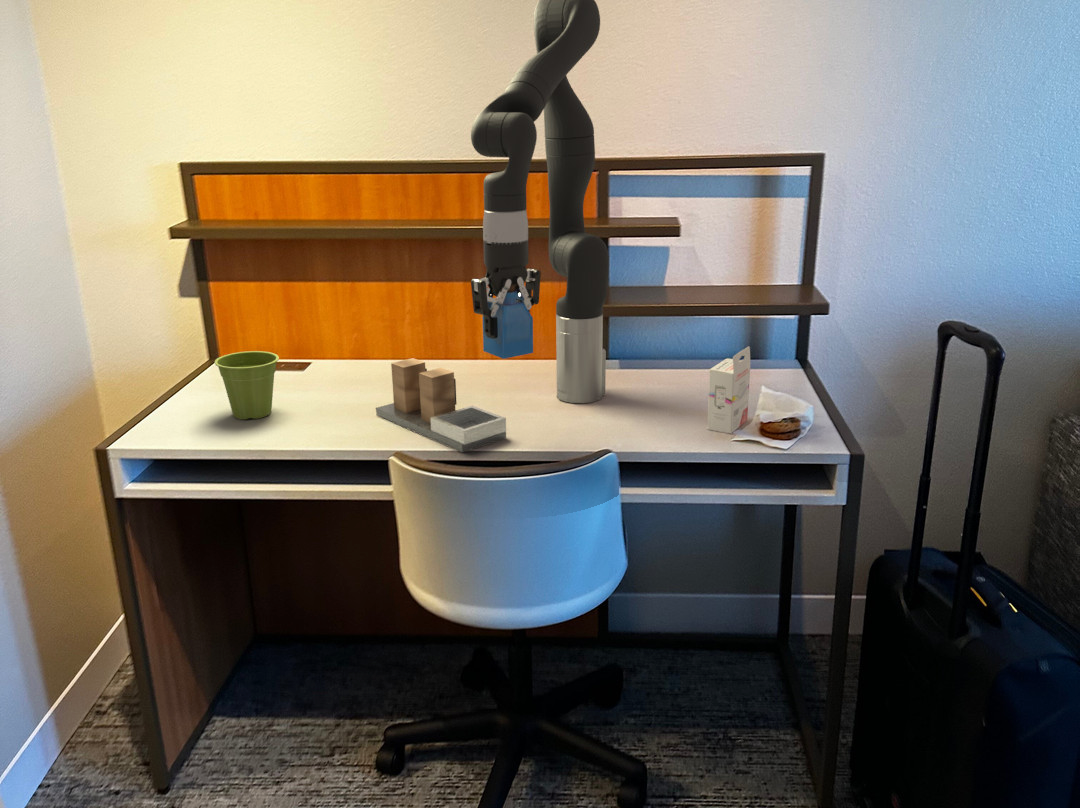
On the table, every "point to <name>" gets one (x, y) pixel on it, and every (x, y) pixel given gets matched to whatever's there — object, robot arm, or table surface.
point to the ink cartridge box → (729, 393)
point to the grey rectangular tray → (452, 426)
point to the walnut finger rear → (407, 384)
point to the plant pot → (249, 382)
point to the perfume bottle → (511, 329)
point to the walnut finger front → (437, 393)
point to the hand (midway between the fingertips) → (507, 333)
